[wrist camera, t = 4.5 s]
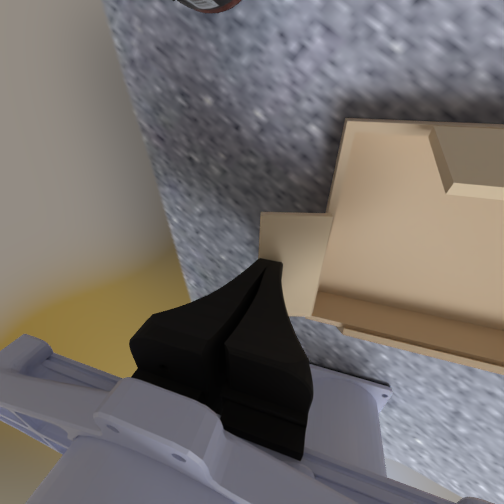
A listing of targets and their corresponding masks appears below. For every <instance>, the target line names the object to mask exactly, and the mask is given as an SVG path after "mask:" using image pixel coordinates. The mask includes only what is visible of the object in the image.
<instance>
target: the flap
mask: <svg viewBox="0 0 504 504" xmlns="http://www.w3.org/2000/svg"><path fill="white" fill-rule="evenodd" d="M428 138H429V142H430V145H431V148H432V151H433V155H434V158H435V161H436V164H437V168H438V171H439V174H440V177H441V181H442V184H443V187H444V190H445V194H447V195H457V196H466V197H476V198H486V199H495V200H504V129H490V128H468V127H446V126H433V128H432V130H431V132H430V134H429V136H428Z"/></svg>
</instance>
